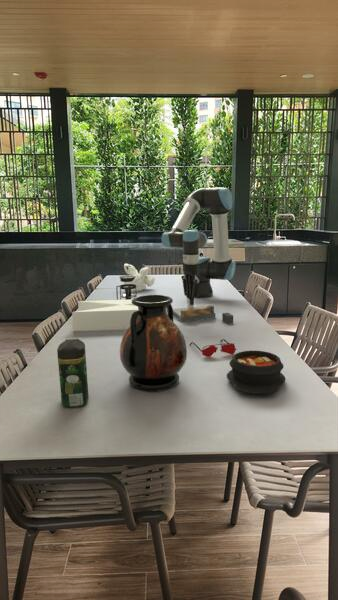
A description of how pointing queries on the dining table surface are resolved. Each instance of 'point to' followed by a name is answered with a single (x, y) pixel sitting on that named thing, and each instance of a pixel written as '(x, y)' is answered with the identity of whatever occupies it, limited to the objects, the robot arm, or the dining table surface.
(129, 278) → the french press
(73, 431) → the dining table surface
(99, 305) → the building model
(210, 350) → the glasses
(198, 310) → the hinged leg
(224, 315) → the block
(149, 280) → the white lobed sculpture
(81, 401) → the coffee jar
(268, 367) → the casserole
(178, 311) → the stool seat
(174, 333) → the amphora vase
